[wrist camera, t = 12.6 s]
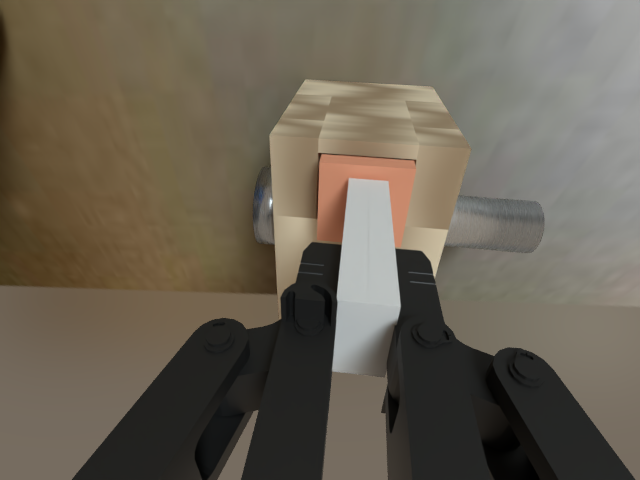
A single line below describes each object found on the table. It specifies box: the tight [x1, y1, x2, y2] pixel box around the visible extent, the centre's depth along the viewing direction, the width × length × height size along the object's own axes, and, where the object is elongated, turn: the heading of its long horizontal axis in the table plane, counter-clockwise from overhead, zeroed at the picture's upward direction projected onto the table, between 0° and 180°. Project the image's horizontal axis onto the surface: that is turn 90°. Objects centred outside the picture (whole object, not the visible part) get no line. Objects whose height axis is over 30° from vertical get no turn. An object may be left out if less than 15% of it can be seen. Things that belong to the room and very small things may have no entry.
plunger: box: [317, 154, 416, 248], centre depth 18 cm, size 4×4×8 cm
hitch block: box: [270, 79, 471, 320], centre depth 22 cm, size 8×12×10 cm, turn 178°
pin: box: [253, 167, 544, 253], centre depth 21 cm, size 16×5×5 cm, turn 88°
